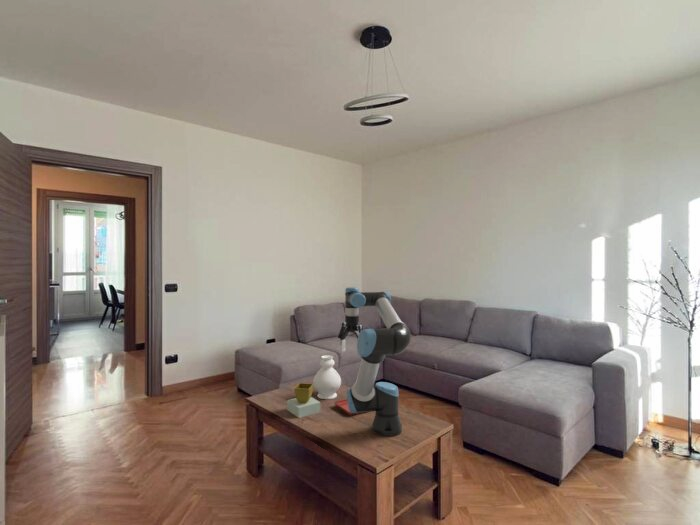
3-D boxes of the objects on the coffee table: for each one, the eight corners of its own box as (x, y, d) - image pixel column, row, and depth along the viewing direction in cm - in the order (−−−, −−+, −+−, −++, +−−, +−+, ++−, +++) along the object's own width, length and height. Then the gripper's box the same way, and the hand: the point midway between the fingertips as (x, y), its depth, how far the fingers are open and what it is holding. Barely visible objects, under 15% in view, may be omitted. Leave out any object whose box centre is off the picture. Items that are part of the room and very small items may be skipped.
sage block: (320, 412, 218) (320, 402, 218) (298, 418, 209) (298, 407, 209) (308, 405, 229) (308, 395, 229) (287, 410, 220) (287, 400, 220)
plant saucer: (358, 401, 235) (358, 396, 235) (376, 411, 219) (376, 405, 219) (333, 407, 225) (333, 401, 225) (349, 418, 210) (349, 412, 210)
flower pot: (309, 404, 214) (309, 388, 213) (294, 403, 215) (294, 387, 215) (313, 399, 222) (313, 383, 222) (299, 398, 224) (299, 382, 224)
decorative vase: (333, 402, 232) (333, 361, 231) (307, 398, 239) (307, 358, 239) (345, 393, 248) (345, 354, 247) (321, 389, 255) (321, 352, 255)
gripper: (373, 316, 206) (373, 356, 206) (341, 312, 223) (341, 348, 223) (363, 318, 200) (363, 358, 201) (331, 313, 218) (331, 350, 218)
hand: (352, 353), depth 212 cm, fingers open, 13 cm apart
